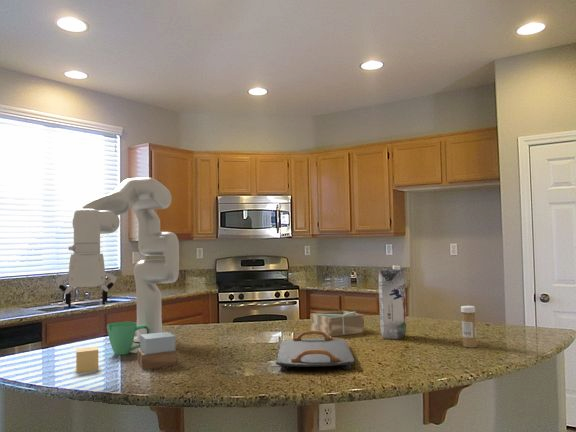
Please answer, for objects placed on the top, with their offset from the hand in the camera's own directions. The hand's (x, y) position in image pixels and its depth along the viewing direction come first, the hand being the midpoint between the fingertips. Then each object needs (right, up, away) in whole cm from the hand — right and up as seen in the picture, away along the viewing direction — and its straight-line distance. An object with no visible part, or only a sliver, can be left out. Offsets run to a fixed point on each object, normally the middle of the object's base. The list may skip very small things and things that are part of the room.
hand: (86, 305), depth 147 cm
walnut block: (+20, -19, +4) cm, 28 cm away
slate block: (+20, -15, +4) cm, 26 cm away
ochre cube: (+1, -19, -1) cm, 19 cm away
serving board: (+70, -18, +6) cm, 72 cm away
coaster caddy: (+82, -20, +50) cm, 98 cm away
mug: (+6, -20, +20) cm, 29 cm away
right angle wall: (+82, -20, +50) cm, 98 cm away
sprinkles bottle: (+123, -17, +16) cm, 125 cm away
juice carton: (+102, -19, +35) cm, 109 cm away
